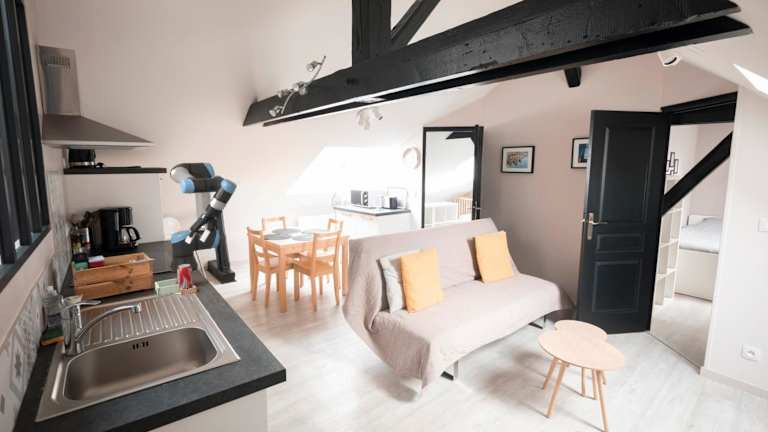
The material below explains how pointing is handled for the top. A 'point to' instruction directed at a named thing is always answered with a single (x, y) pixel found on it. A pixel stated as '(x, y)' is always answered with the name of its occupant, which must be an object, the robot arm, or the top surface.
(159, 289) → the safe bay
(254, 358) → the top surface
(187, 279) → the soda can
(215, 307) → the top surface
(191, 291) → the trap near
